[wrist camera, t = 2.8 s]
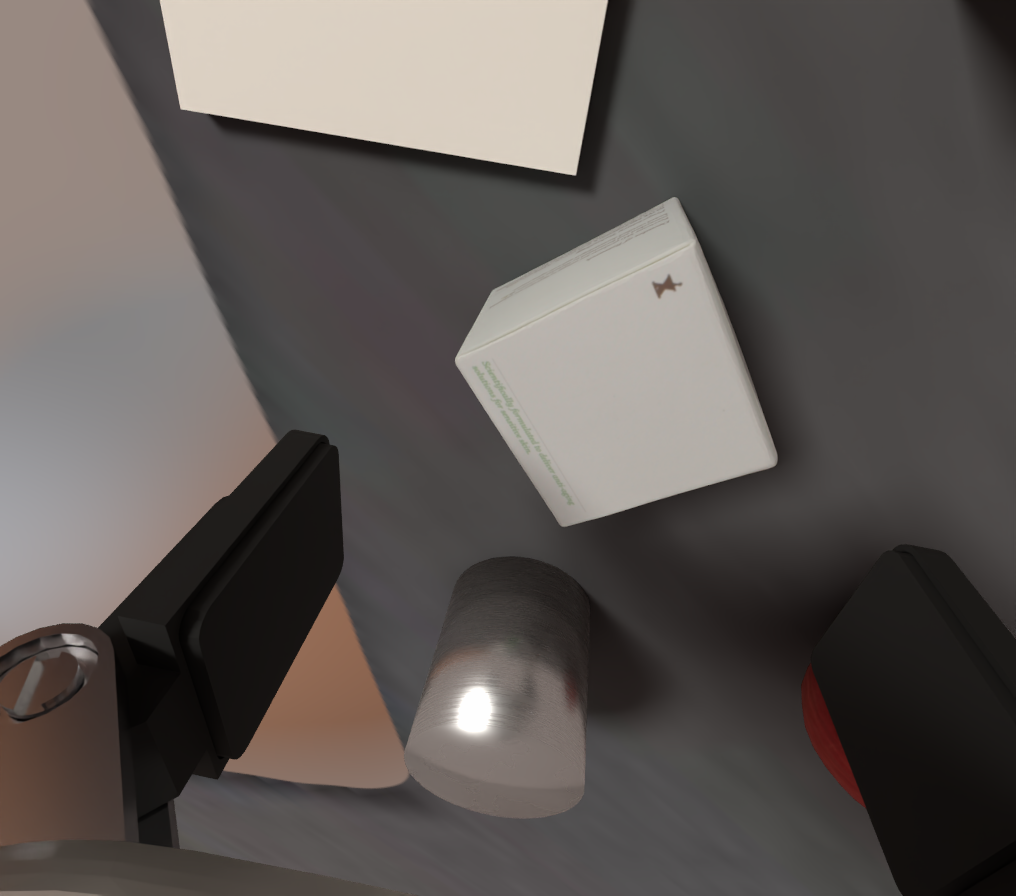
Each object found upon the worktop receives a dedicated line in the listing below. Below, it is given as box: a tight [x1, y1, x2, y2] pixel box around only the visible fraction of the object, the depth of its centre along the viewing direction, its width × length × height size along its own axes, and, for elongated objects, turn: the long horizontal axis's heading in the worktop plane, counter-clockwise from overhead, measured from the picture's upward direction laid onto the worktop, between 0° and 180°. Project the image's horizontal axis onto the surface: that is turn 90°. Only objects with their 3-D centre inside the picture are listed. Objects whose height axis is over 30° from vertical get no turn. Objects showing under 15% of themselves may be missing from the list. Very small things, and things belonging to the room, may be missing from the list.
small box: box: [455, 197, 778, 527], centre depth 14 cm, size 6×6×5 cm
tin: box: [404, 557, 590, 818], centre depth 20 cm, size 6×6×7 cm
